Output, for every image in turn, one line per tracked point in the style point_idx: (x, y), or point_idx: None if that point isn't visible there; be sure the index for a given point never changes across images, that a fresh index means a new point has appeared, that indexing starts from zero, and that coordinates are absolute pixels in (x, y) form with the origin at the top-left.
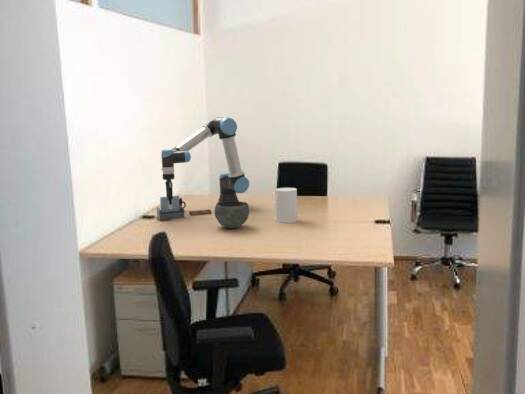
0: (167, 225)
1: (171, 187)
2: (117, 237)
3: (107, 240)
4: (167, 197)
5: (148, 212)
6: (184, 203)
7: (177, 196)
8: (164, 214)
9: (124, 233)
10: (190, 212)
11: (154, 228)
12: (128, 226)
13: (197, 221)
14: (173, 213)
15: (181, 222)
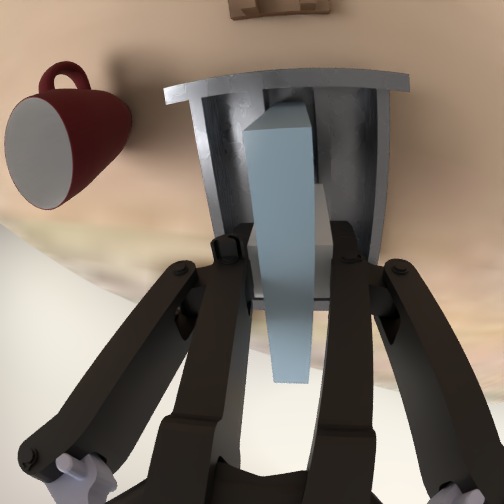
0: (493, 233)
1: (498, 463)
2: (493, 376)
3: (495, 386)
4: (312, 323)
5: (102, 277)
6: (58, 71)
7: (311, 159)
8: (377, 251)
9: (473, 370)
10: (305, 3)
11: (496, 294)
12: (391, 370)
13: (483, 31)
14: (385, 178)
15: (475, 135)
